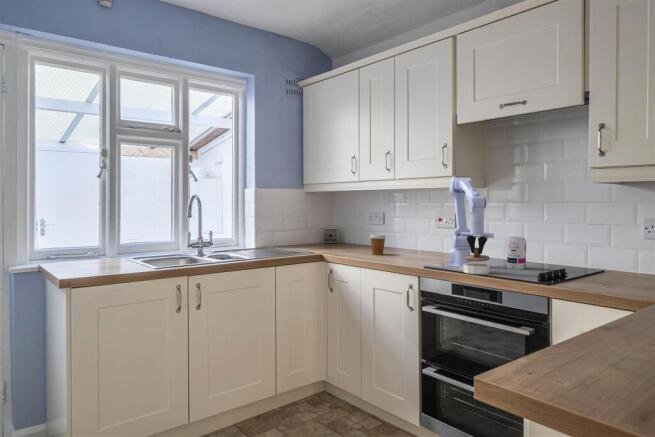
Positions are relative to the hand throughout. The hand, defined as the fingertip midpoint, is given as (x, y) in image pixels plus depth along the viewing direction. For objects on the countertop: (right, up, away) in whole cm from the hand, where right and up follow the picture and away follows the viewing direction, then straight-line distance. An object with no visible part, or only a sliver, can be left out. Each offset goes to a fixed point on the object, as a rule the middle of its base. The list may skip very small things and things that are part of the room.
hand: (476, 253), depth 206 cm
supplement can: (+23, -9, +13) cm, 28 cm away
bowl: (0, -9, 0) cm, 9 cm away
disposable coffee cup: (-37, -6, +69) cm, 79 cm away
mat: (+13, -9, +5) cm, 16 cm away
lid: (0, -3, +1) cm, 3 cm away
